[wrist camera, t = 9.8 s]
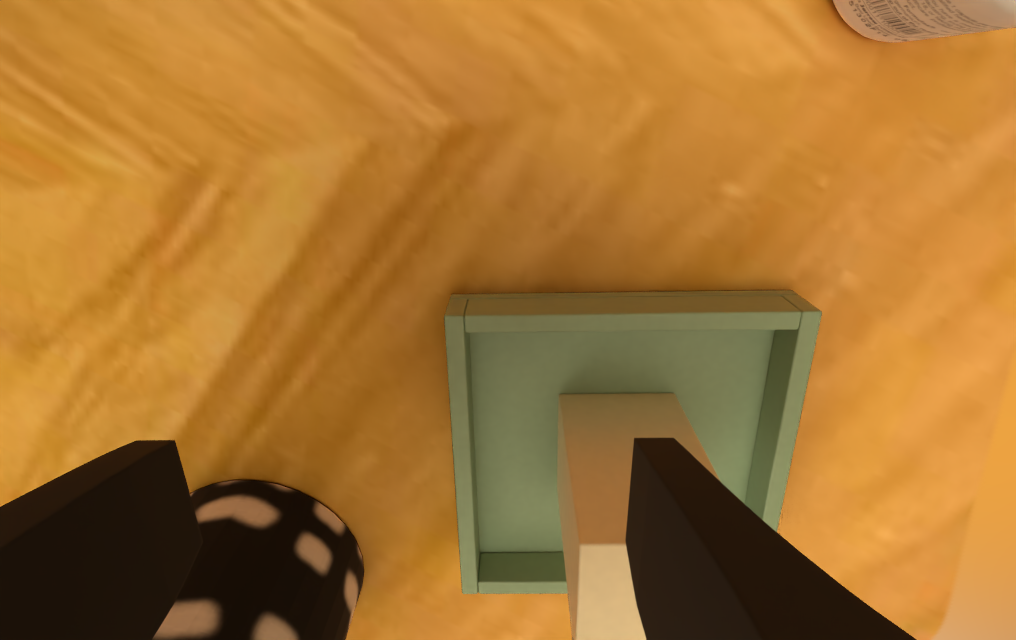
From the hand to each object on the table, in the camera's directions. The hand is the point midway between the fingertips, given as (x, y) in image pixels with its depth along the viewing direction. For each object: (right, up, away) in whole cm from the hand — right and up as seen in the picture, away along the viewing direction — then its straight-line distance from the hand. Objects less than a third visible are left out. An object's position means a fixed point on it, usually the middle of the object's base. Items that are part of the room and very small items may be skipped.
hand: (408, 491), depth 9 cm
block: (+5, -2, +11) cm, 13 cm away
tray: (+5, -2, +12) cm, 13 cm away
